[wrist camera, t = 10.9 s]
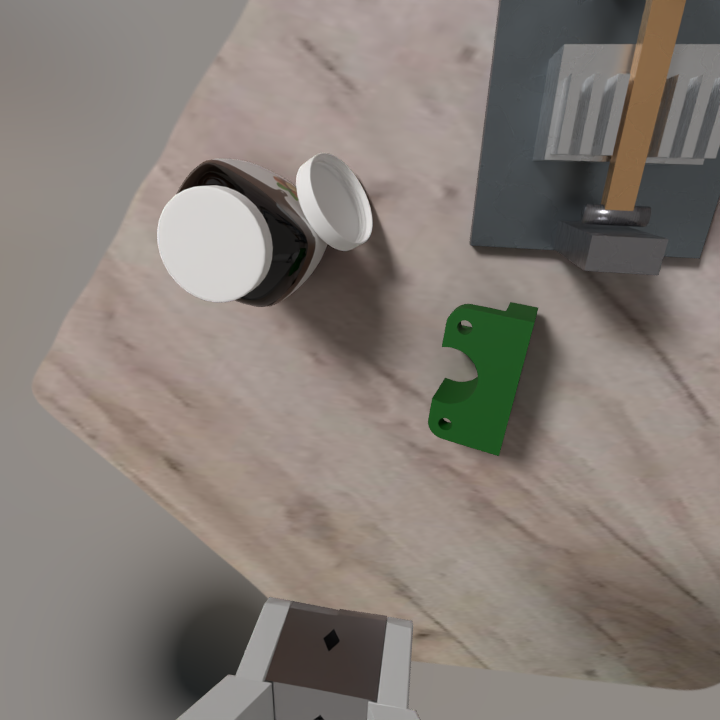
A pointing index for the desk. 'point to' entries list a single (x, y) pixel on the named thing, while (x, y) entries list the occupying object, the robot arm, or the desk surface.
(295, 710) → the robot arm
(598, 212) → the wooden handle
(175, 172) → the desk surface
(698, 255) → the heatsink mount
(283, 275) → the chocolate spread jar
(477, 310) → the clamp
